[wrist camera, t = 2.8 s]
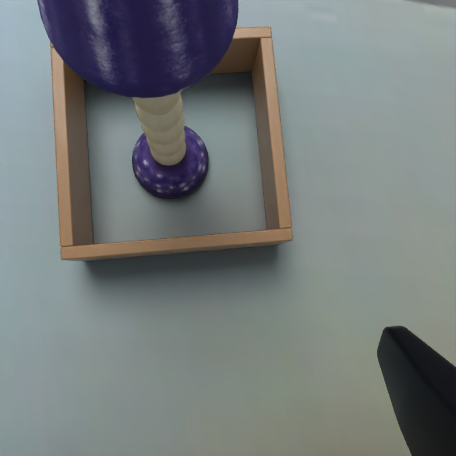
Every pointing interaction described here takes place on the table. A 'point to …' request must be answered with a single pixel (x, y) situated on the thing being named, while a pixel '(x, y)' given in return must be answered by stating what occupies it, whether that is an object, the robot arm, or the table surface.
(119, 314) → the table surface
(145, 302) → the table surface
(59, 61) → the box
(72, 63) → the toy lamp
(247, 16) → the table surface
